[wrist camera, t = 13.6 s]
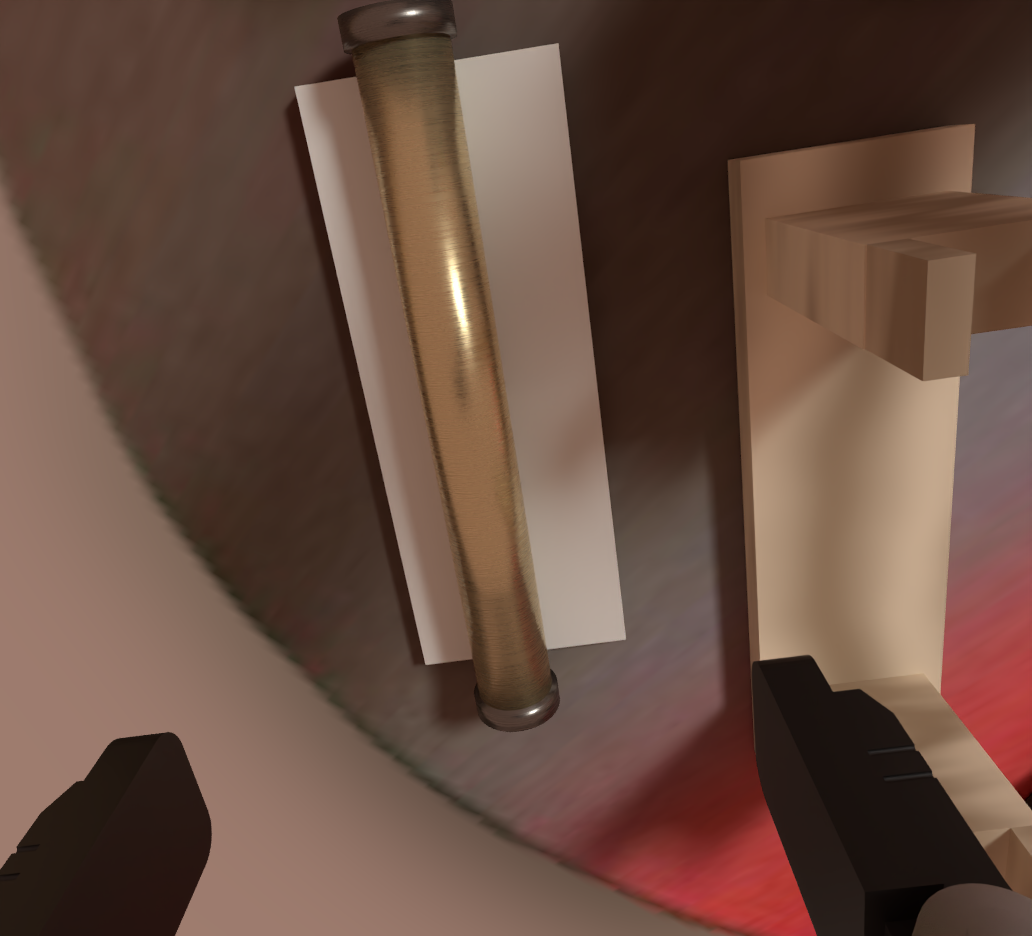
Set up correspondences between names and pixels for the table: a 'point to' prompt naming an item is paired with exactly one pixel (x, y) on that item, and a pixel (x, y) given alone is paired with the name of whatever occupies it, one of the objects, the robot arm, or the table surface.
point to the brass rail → (454, 343)
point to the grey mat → (521, 335)
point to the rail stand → (870, 422)
